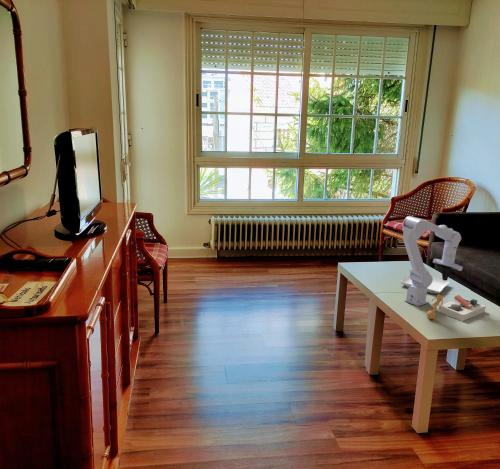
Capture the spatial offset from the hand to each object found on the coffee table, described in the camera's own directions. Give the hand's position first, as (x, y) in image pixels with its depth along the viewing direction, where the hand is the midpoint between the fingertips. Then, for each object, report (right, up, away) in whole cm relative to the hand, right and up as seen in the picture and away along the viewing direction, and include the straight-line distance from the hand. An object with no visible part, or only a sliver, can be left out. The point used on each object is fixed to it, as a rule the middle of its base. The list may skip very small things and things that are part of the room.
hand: (444, 280), depth 227 cm
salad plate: (-3, -6, +19) cm, 20 cm away
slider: (+9, -10, -12) cm, 18 cm away
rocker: (+3, -9, -14) cm, 17 cm away
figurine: (-15, -16, -23) cm, 31 cm away
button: (-2, -13, -17) cm, 21 cm away
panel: (+2, -14, -13) cm, 19 cm away
